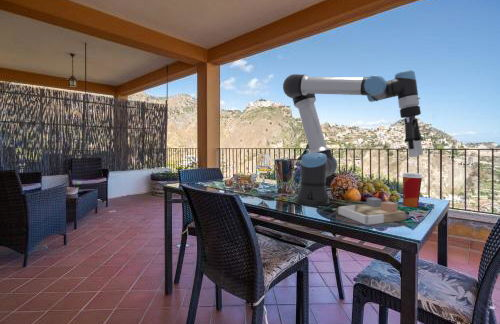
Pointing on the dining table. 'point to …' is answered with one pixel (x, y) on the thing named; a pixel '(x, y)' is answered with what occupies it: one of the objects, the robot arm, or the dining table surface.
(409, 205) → the coffee cup
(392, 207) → the tan block
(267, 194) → the dining table surface
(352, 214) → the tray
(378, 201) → the tile grey
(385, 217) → the board
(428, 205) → the dining table surface
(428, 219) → the dining table surface
